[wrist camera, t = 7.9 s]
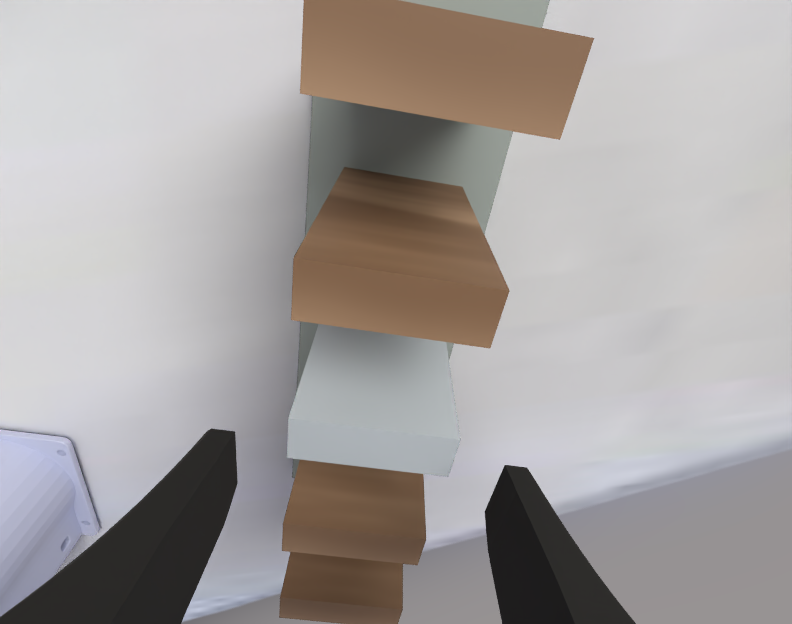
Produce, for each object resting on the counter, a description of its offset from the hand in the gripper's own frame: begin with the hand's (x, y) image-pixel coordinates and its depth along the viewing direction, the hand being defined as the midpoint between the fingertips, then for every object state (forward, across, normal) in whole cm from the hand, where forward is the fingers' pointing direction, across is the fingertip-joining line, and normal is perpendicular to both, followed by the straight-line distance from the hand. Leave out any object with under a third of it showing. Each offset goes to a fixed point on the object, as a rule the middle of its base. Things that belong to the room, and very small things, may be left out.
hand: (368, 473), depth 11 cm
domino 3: (+10, 0, +5) cm, 11 cm away
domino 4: (+10, 0, +10) cm, 14 cm away
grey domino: (+10, 0, 0) cm, 10 cm away
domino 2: (+10, 0, -5) cm, 11 cm away
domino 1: (+10, 0, -10) cm, 14 cm away
